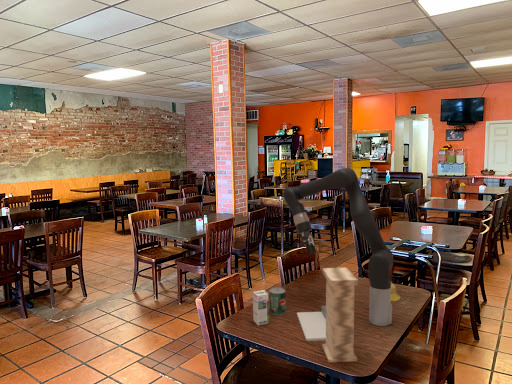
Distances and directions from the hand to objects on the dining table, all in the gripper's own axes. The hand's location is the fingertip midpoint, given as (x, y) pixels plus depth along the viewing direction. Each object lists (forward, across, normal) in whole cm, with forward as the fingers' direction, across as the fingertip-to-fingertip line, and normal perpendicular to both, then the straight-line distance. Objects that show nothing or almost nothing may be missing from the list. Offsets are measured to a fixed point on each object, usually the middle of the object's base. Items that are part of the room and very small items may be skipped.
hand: (312, 253), depth 189 cm
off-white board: (+33, -10, +5) cm, 35 cm away
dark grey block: (+32, -8, +2) cm, 33 cm away
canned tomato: (+22, -3, +26) cm, 34 cm away
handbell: (+32, +35, -24) cm, 53 cm away
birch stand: (+43, -28, -4) cm, 52 cm away
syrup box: (+24, -16, +30) cm, 42 cm away
